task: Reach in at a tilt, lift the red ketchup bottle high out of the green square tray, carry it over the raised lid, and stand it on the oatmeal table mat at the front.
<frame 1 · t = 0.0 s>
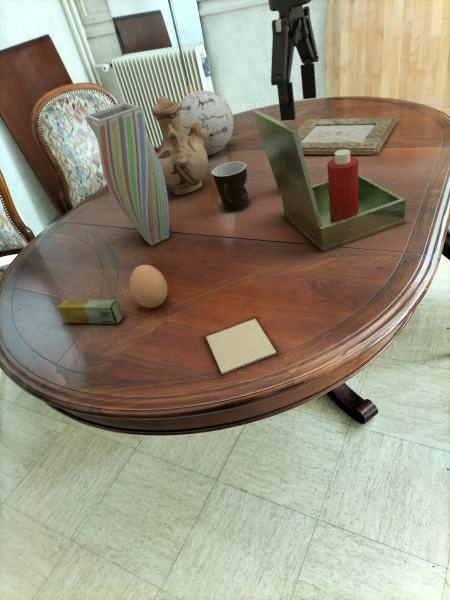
hand: (299, 108, 85), 23 cm above the table, tool pointing down, fingers open, 13 cm apart
decorative sphere: (210, 154, 144), on the table
ketchup: (344, 214, 92), point 1 cm above the table, touching green square tray
coffee mug: (233, 209, 107), on the table
vase: (156, 238, 103), on the table
green square tray: (340, 219, 92), on the table
ceramic vessel: (185, 191, 123), on the table
warmer lid: (287, 167, 81), point 15 cm above the table, hinge at 100.0°
picture frame: (337, 139, 131), on the table
medication box: (95, 320, 81), on the table
mat: (239, 345, 67), on the table
egg: (155, 305, 81), on the table
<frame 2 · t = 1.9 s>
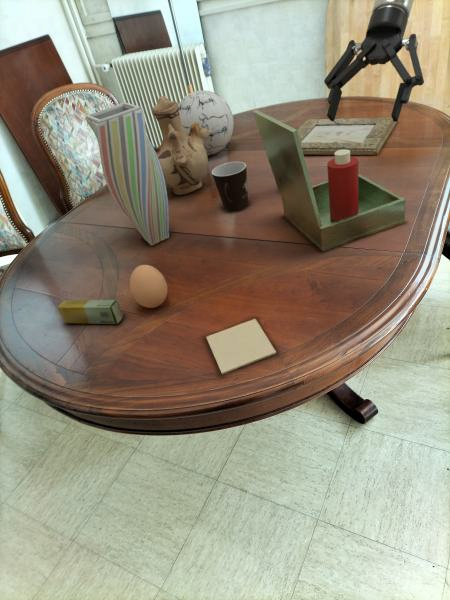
hand: (361, 118, 87), 18 cm above the table, tool tilted 45°, fingers open, 13 cm apart
nothing on the table moved.
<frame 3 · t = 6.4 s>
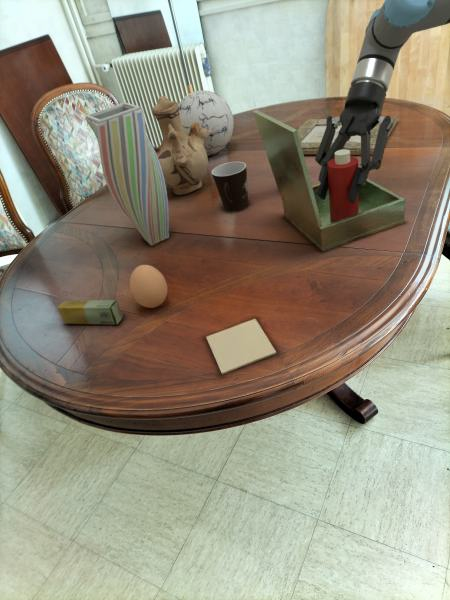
hand: (335, 199, 86), 6 cm above the table, tool tilted 45°, fingers closed on ketchup, 6 cm apart
ketchup: (344, 214, 92), point 1 cm above the table, touching gripper, green square tray
everything else where it was.
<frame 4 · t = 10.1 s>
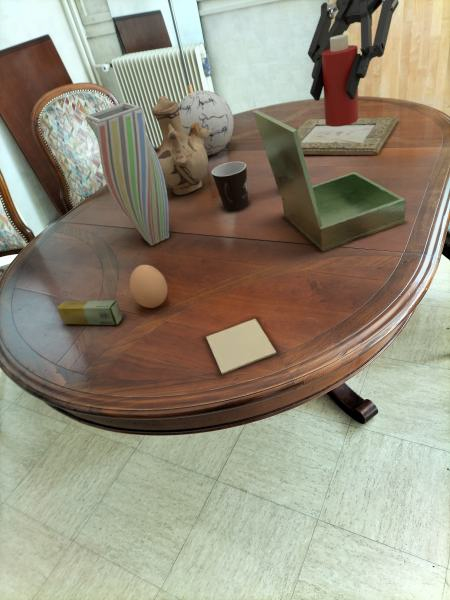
hand: (331, 95, 74), 26 cm above the table, tool tilted 45°, fingers closed on ketchup, 6 cm apart
ketchup: (341, 121, 79), point 21 cm above the table, touching gripper
everything else where it was.
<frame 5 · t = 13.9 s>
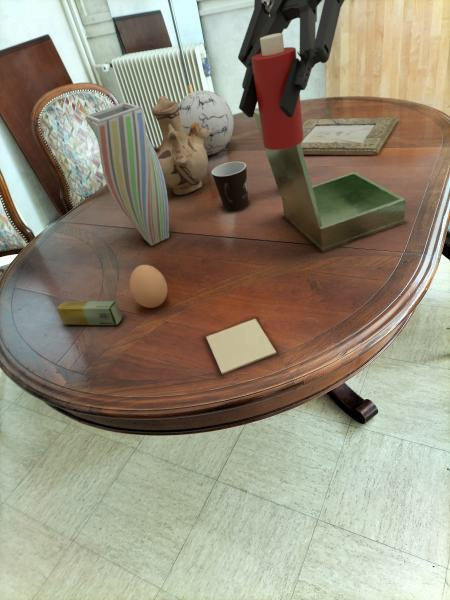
hand: (265, 112, 58), 31 cm above the table, tool tilted 45°, fingers closed on ketchup, 6 cm apart
ketchup: (283, 142, 63), point 25 cm above the table, touching gripper
everything else where it was.
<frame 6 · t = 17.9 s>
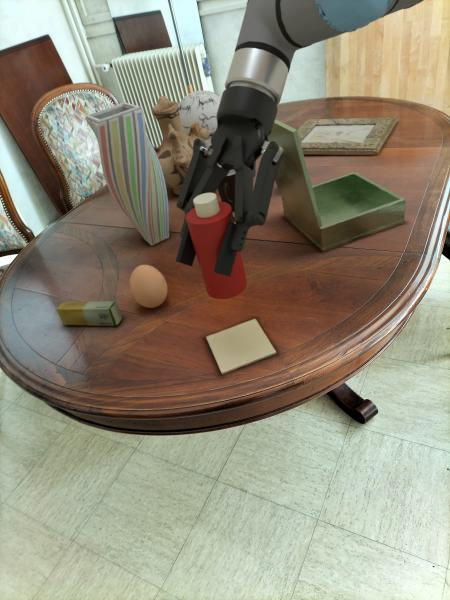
hand: (202, 268, 55), 17 cm above the table, tool tilted 45°, fingers closed on ketchup, 6 cm apart
ketchup: (226, 286, 61), point 12 cm above the table, touching gripper
everything else where it was.
when the fingers open (6 cm above the table, at t = 21.3 s): ketchup stays where it is, resting on mat.
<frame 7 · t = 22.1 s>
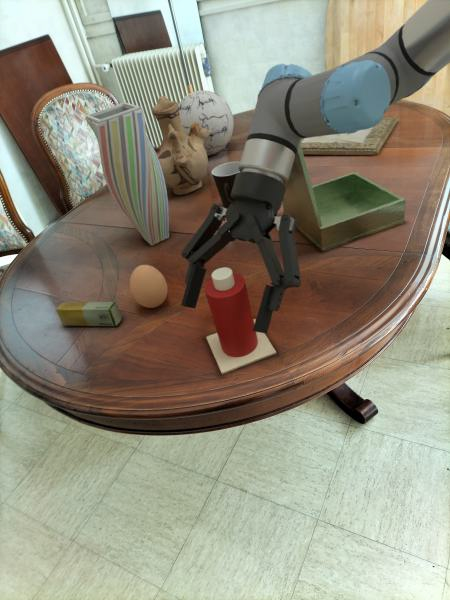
hand: (221, 318, 61), 8 cm above the table, tool tilted 45°, fingers open, 13 cm apart
ketchup: (239, 343, 67), resting on mat
everything else where it was.
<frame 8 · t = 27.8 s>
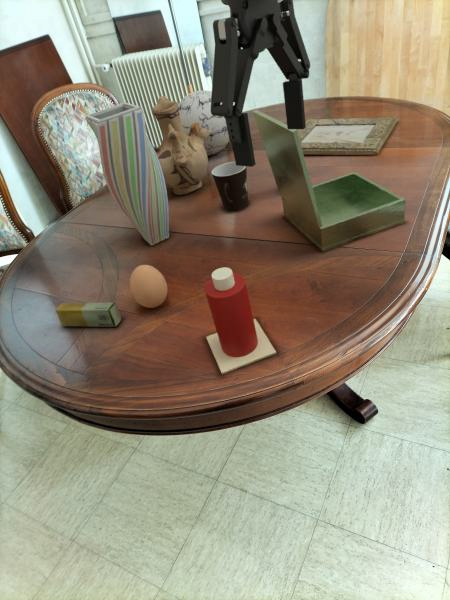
hand: (272, 145, 59), 27 cm above the table, tool pointing down, fingers open, 13 cm apart
nothing on the table moved.
at the end: ketchup inside the target area on the mat (0.1 cm from its centre), point 0.4 cm above the mat's base; ketchup tilted 0° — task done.
